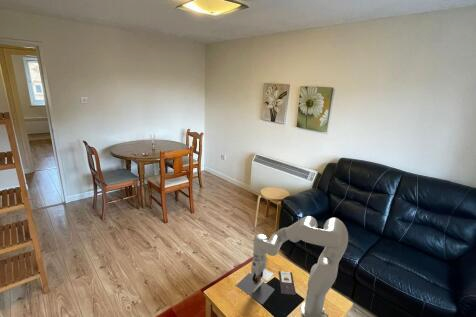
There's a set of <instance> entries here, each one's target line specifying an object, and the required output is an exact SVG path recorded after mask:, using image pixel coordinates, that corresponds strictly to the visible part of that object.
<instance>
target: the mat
mask: <svg viewBox="0 0 476 317" xmlns="http://www.w3.org/2000/svg"><path fill="white" fill-rule="evenodd" d="M250 275H251V272H249V273H247V274H246V275H245V276H244V277H243V278H242V279H241V280H240V281H239V282H238V283H237V284H236V285H235V286H236V287H237V288H238V289H239V290H241V291H243V292H244V293H245V294H247V295H248V296H249V297H251V298H253V299H254V300H255V301H257V302H258V303H260V304H261V305H264V303H266V301H267V300H268V299H269V297H270V296H271V295H272V294H273V293H274V292H275V288H273V287H272V286H270V285H269V284H268V283H265V281H264V282H263V283H262V285H261V286H260V287H259V288H258V289H257V290H256V291H255V292H254V293H253V292H252V291H253V290H254V289H255V288H256V287H257V285H258V284H259V283H260V282H261V281H262V279H261V280H260V281H259V282H258V284H257V285H255V284H254V281H253V280H252V279H253V277H251V276H250Z"/></svg>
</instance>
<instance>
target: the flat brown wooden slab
mask: <svg viewBox="0 0 476 317" xmlns="http://www.w3.org/2000/svg"><path fill="white" fill-rule="evenodd" d="M254 275H256V274H255V273H254ZM257 277H258V279H257V283H256V282H254V284H255V285H257V284H258V282H259V281H260V280H261V281H262V278H261V273H260V274H259V275H257Z"/></svg>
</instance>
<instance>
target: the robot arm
mask: <svg viewBox="0 0 476 317" xmlns="http://www.w3.org/2000/svg"><path fill="white" fill-rule="evenodd" d="M287 241H290V242H293V243H297V242H300V241H303V242H304V243H307V244H308V243H309V244H311V245H316V246H321V247H324V249H323V250H322V252H321V253H320V255H319V257H318V260H317V263H314V264H313V265H312V266H311V269H310V273H309V277H308V281H307V289H306V290H307V291H306V296H305V301H304V302H303V303H302V305H301V307H300V309H301V310H300V311H301V314H302V316H303V317H330V316H329V314H328V313H326V312H325V307H324V304H325V300H326V295H327V294H328V292H329V290H330V289H331V288H332V286H333V285H334V283H335V281H336V279H337V276H338V270H339V265H340V264H339V263H340V261H341V260H342V257H343V255H344V254H345V252H346V251H347V250H346V249H347V248H348V245H349V244H348V243H349V231H348V229H347V227H346V225H345V223H344V222H343V221H342V220H340V219H339V218H338V217H330V218H328V219H327V220H326V221H325V223H324V224H323V229H322V228H318V222H317V219H316V218H315V217H313V216H311V215H307V216H304V217H302V218H301V219H299V220H297V221H296V222H294V223H292V224H291V225H289V226H288V227H287V226H286V227H282V228H280V229H278V230H277V231H275V232H273V234H271V235H270V237H269V238H268V237H267V235H265V234H264V233H256V235H255V236H254V237H253V250H252V251H253V252H252V261H251V268H250V270H251V271H250V274H251V275H250V276H251V277H253V279H252V280H253V281H254V282H256V283H257V279H258V277H257V275H259V274H260V273H261V277H263V272H262V271H264V269H267V268H266V267H267V262H268V261H267V255H269V256H271V257H275V256H277V254H278V253H279V251H280V248H281V247H282V245H283V244H284V243H285V242H287ZM254 273H255V274H256V275H254Z"/></svg>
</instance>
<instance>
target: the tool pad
mask: <svg viewBox="0 0 476 317" xmlns="http://www.w3.org/2000/svg"><path fill="white" fill-rule="evenodd" d="M262 272H263V277H261V280H263V279H264V278H265V281H266V282H268V281H269V280H270V279H271V278H272V277H273V276H274V273H273V272H272V271H269V270H267V268H265V269H264V271H262Z"/></svg>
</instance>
